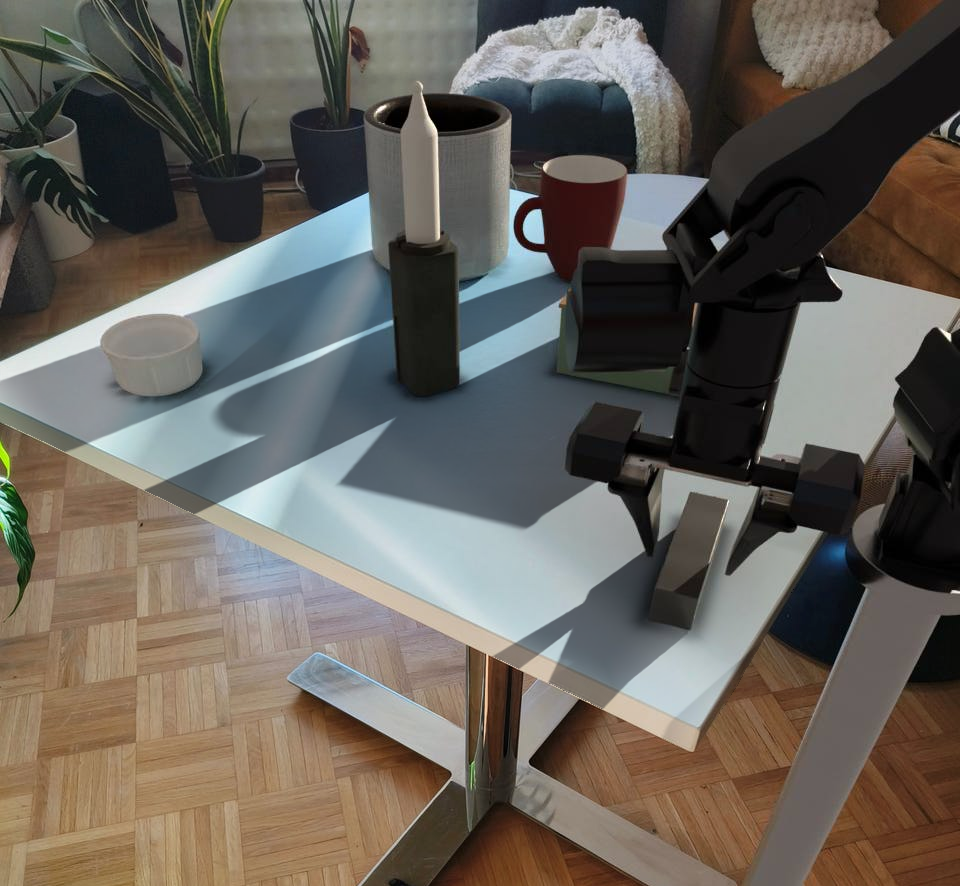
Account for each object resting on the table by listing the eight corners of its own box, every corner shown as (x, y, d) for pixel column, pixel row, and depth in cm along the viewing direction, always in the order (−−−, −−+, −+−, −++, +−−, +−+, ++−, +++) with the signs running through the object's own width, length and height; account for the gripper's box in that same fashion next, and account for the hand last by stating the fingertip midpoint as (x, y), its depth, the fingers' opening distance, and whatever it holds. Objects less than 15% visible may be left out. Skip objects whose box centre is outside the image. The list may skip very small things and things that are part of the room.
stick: (683, 522, 70) (690, 490, 68) (721, 531, 70) (729, 499, 68) (648, 620, 62) (654, 588, 60) (690, 631, 62) (698, 599, 60)
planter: (344, 264, 105) (330, 115, 94) (430, 223, 114) (426, 83, 103) (452, 300, 98) (450, 145, 87) (534, 254, 107) (542, 108, 96)
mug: (525, 297, 99) (529, 188, 91) (503, 264, 105) (506, 159, 97) (627, 287, 101) (640, 179, 93) (600, 255, 107) (610, 152, 99)
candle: (464, 385, 85) (462, 84, 68) (416, 399, 83) (402, 93, 66) (439, 362, 88) (431, 69, 71) (392, 375, 86) (372, 77, 69)
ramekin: (222, 384, 85) (213, 340, 82) (131, 410, 81) (117, 366, 78) (188, 347, 90) (178, 305, 87) (100, 370, 87) (87, 328, 84)
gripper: (901, 334, 57) (831, 528, 68) (618, 287, 62) (596, 476, 73) (892, 420, 50) (815, 622, 61) (572, 360, 55) (554, 557, 66)
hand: (689, 562), depth 65 cm, fingers open, 5 cm apart
